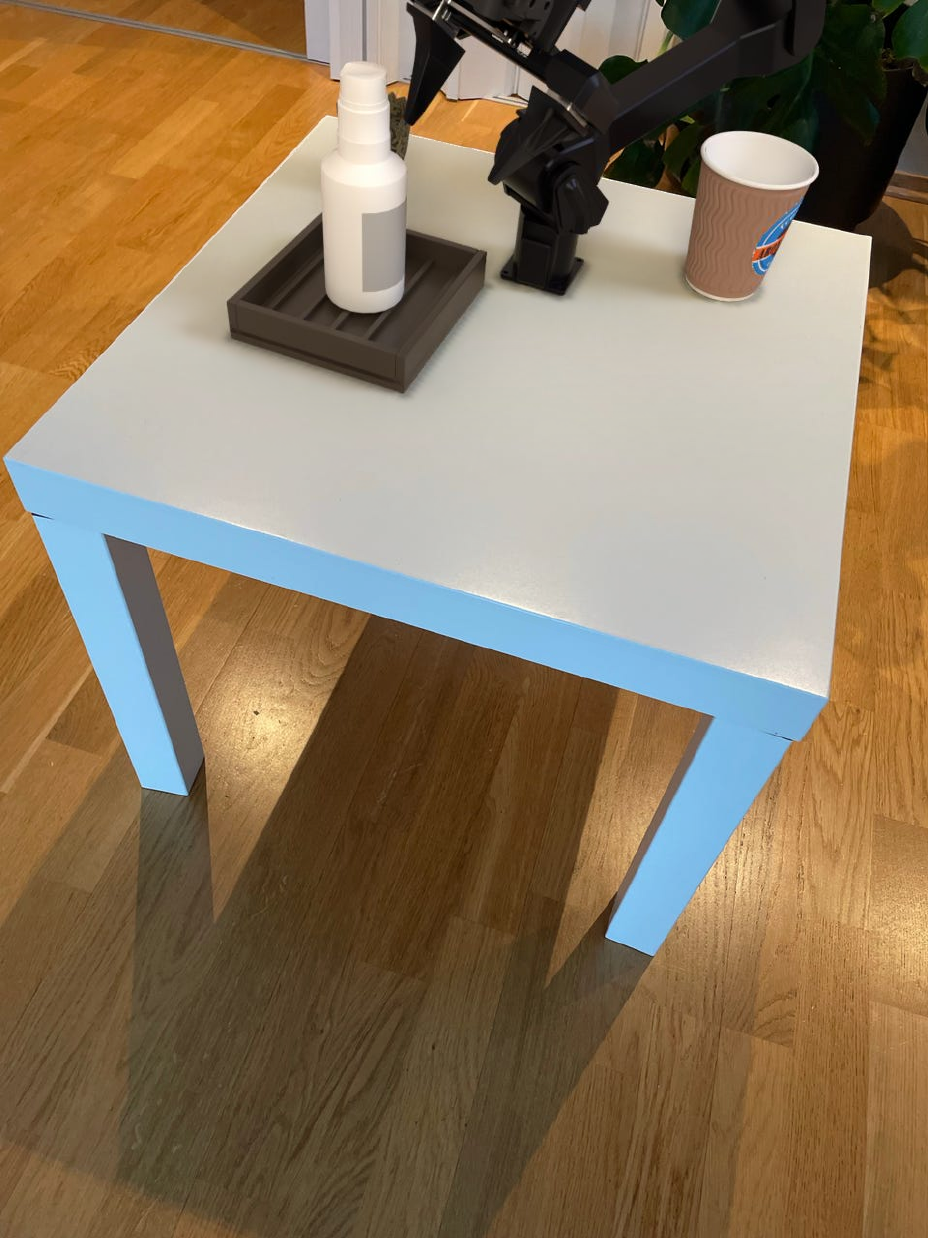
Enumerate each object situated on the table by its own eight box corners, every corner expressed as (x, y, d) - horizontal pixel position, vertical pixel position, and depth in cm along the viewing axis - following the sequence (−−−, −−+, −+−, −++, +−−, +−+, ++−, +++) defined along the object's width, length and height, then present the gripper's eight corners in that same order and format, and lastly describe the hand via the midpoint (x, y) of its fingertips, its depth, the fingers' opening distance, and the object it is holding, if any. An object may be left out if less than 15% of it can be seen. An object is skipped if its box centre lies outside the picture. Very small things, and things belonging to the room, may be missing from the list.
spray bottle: (402, 317, 80) (409, 93, 66) (322, 312, 80) (311, 86, 66) (405, 273, 85) (411, 54, 71) (328, 268, 84) (320, 47, 70)
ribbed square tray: (329, 240, 91) (328, 205, 88) (484, 286, 88) (487, 251, 85) (231, 338, 80) (226, 301, 77) (403, 393, 77) (404, 357, 74)
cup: (330, 196, 96) (327, 114, 90) (347, 163, 101) (346, 83, 94) (402, 208, 96) (404, 126, 89) (416, 174, 100) (419, 94, 94)
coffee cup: (755, 325, 87) (801, 198, 78) (652, 288, 90) (684, 161, 80) (786, 275, 93) (832, 152, 84) (688, 242, 96) (723, 119, 86)
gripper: (419, -173, 64) (308, 52, 70) (630, -49, 59) (492, 183, 64) (488, -83, 74) (386, 108, 80) (673, 30, 69) (550, 225, 74)
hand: (448, 152), depth 74 cm, fingers open, 9 cm apart
